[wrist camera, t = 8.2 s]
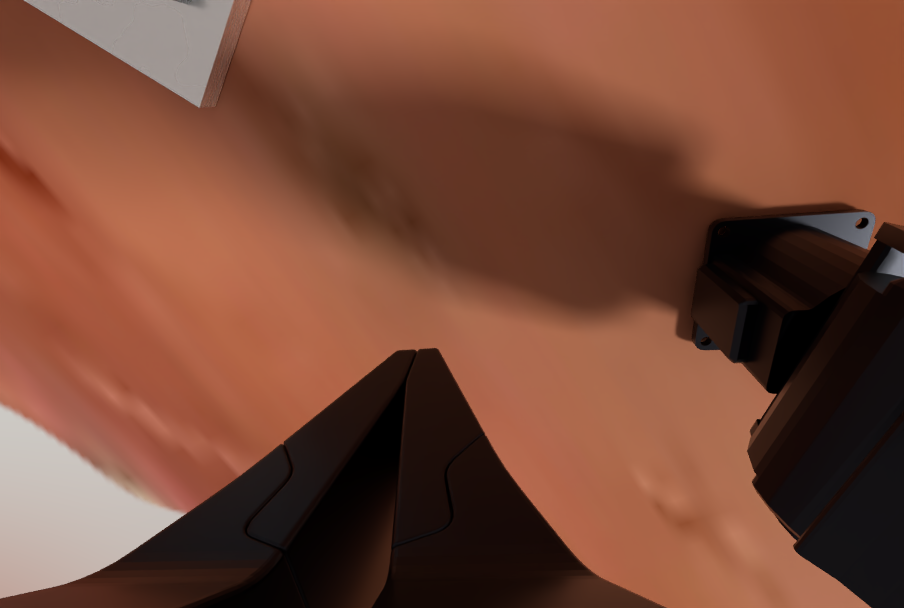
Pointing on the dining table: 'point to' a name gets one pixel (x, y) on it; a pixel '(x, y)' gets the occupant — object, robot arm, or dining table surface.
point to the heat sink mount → (162, 38)
